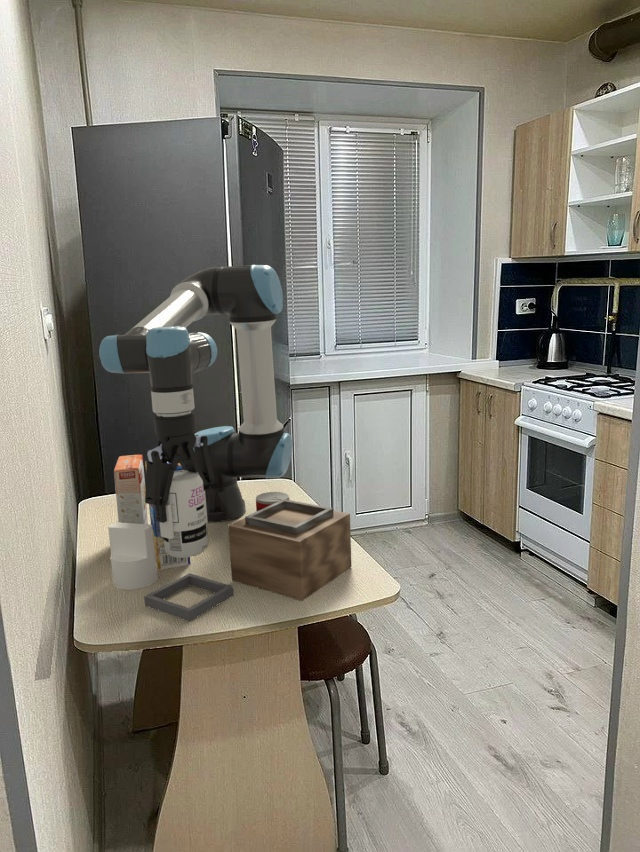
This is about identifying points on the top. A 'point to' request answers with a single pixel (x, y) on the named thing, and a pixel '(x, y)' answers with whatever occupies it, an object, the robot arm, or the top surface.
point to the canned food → (269, 499)
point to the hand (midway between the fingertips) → (184, 529)
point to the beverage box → (161, 556)
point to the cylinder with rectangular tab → (132, 555)
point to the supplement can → (187, 515)
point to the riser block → (290, 548)
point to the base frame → (220, 595)
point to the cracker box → (130, 490)
